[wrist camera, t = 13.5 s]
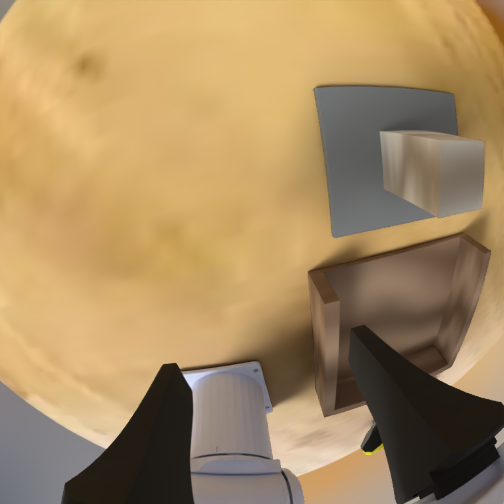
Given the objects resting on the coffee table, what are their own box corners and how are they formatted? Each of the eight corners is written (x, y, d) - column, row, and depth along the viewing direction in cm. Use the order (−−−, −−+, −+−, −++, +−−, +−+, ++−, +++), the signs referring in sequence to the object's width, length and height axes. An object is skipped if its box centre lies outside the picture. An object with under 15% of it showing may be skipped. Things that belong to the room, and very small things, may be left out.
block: (425, 183, 17) (481, 208, 11) (383, 188, 17) (438, 218, 12) (423, 130, 15) (484, 141, 10) (379, 131, 15) (439, 140, 10)
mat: (452, 210, 19) (456, 212, 18) (331, 235, 19) (334, 238, 18) (449, 94, 14) (453, 94, 14) (313, 88, 14) (316, 87, 14)
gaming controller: (351, 433, 34) (402, 416, 35) (360, 460, 29) (414, 440, 30) (377, 380, 28) (437, 360, 28) (393, 415, 23) (456, 388, 23)
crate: (435, 345, 26) (451, 366, 23) (315, 388, 26) (324, 417, 23) (463, 232, 20) (491, 251, 16) (308, 271, 20) (324, 304, 16)
